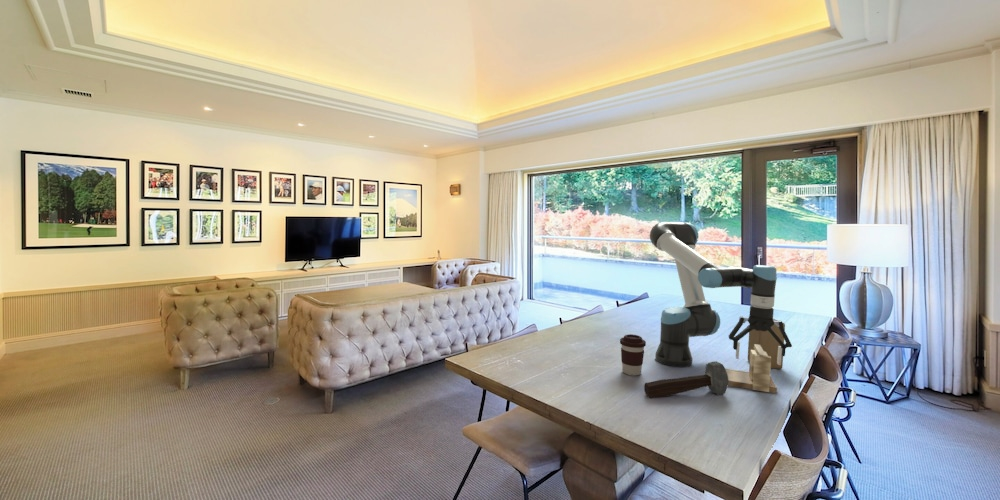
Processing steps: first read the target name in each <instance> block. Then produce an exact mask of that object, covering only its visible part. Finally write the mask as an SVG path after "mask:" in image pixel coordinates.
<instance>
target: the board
mask: <svg viewBox="0 0 1000 500" xmlns="http://www.w3.org/2000/svg"><path fill="white" fill-rule="evenodd" d="M725 370H726V372H727V375H728V386H729V387H734V388H735V387H736V388H741V389H747V390H753V380H751V378H750V376H749V371H746V370H739V369H738V370H737V369H732V368H731V369H730V368H726V367H725ZM728 386H727V387H728ZM777 390H778V388H777V385H776V384H775V382H774V380H773V378H772V376H771V375H770V386H769V392H768V393H773V394H778V393H777Z"/></svg>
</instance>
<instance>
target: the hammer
mask: <svg viewBox="0 0 1000 500" xmlns="http://www.w3.org/2000/svg"><path fill="white" fill-rule="evenodd" d="M725 368H726V367H725V365H724V364H722V363H721V362H718V361H710V362H707V363H706V366H705V368H704V369H705V370H704V374H701V375H692V376H683V377H673V378H672V377H671V378H665V379H659V380H654V381H649V382H644V385H643V389H644V390H643V391H644V393H645V395H646V396H647V397H648V398H649V399H657V398H659V399H660V398H665V397H670V396H673V395H678V394H681V393H685V392H690V391H693V390H697V389H701V388H705V387H707V388H708V389H709V391H711V392H712V393H714V394H715V395H717V396H723V395H724V394H726V392H727V388H728V375H727V372H726V370H725Z"/></svg>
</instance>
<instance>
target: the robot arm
mask: <svg viewBox="0 0 1000 500" xmlns="http://www.w3.org/2000/svg"><path fill="white" fill-rule="evenodd" d="M698 239H699V231H698V229H697V227H696V226H695V225H693V224H692V223H690V222H685V221H679V222H678V221H661V222H658V223H656V224H655V225H654V226H652V228H651V229H650V233H649V240H650V243H652V245H653V246H654V247H655V248H656V249H657V250H658V251H660V252H665V253H667V254H668V255H669V256H671V257H672V258H673V259H674V261H675V265H676V269H677V270H676V271H677V273H678V279H679V283H680V286H681V292H682V295H683V299H684V305H683V307H682V306H681V307H680V306H677V307H676V306H674V307H672V306H671V307H668V308H665V309H663V310H662V312H661V317H660V334H659V335H660V337H659V344H658V346H657V349H656V351H655V361H657V362H658V363H660V364H662V365H666V366H670V367H680V368H684V367H685V368H686V367H690V366H692V365H693V356H692V352H691V348H690V345H689V344H690V338H696V337H706V336H707V337H708V336H713V335H715V334H716V333H717V332H718V330H719V329H720V328H721V327H720V326H721V317H720V315H719V313H718V312H717V311H716V310H714V309H713V308H712V307H711V303H710V302H708V301H707V300H706V297H705V294H704V290H703V288H708V289H717V288H734V287H737V288H738V287H741V288H746V289H751V290H750V291H751V292H750V293H751V294H750V306H749V316H748V317H744V316H742V315H740V316H739V318H738V322H737V323H736V325H735V326H734V327H733V329H732V331H730V333H729V334H728V339H729V340H731V341H733V343H732V348H733V350H735V359H737V360H739V359H740V346H741V345H740V344H741V342H740V340H742V339H743V338H744V337H745V336H746V335H747V334H749V332H750V331H752V330H753V329H754V330H756V331H764V332H765V331H767V330H768V331H769V332H770V333H771V334H772V336H773V337H774V338H775V339H776V340H777V342H778V343H779V344H780V345H781V346H778V356H777V364H778V365H781V356H783V357H785V356H786V349H787V348H792V347H793V345H792V343H791V341H790V339H789V337H788V334H787V333H786V332H787V331H786V329H785V330H784V328H783V323H784V322H783V321H782V320H780V319H779V320H778V321H773V319H774V310H775V309H774V307H775V296H776V294H775V293H776V285H777V279H778V278H777V268H776V267H775V266H771V265H764V264H756V265H753V268H747V267H741V266H732V265H731V266H728V267H719V266H717V265H715V264H713V263H712V261H711V262H710V260H708V259H707V258H705V257H703V256H702V255H701V254H699V252H696V251H695V249H696V244H697V243H698V241H699V240H698ZM746 322H748V325H747V326H746V327H745V328H744V329H742V331H740V332H739V330H740V329H741V328H742V326H743V325H744V324H745V323H746ZM774 324H775V325H776V326H777V327H779V330H780V332H781V334H782V336H783V338H784V343H783V342H782V341H781V340H780V338H779V337H778V336H777V335H776V334H775V332H774V331H773V330H772V329H771V327H772V326H773V325H774ZM738 332H739V333H738ZM737 333H738V334H737ZM736 334H737V335H736Z"/></svg>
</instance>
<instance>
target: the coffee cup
mask: <svg viewBox="0 0 1000 500" xmlns="http://www.w3.org/2000/svg"><path fill="white" fill-rule="evenodd" d="M646 343H647V342H646V340H645V339H643V338H642V336H641V335H637V334H631V333H630V334H625V335H624V336H623V337H621V338H620V339H619V344H620V345H621V347H620V352H621V354H620V355H621V359H620V360H621V367H622V369H621V370H622V372H623V373H624V374H625V375H629V376H634V377H636V376H640V375H641V374H642V368H643V363H644V356H645V347H646V345H647V344H646Z"/></svg>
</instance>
